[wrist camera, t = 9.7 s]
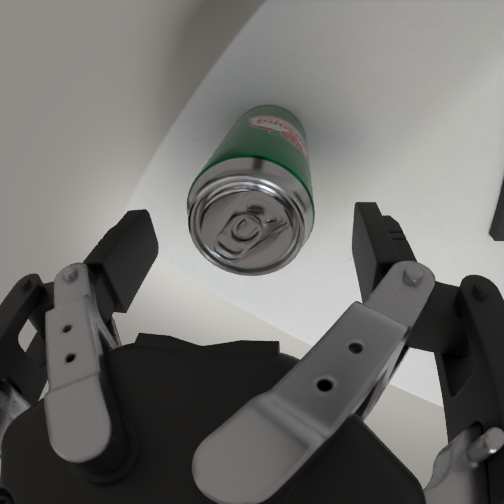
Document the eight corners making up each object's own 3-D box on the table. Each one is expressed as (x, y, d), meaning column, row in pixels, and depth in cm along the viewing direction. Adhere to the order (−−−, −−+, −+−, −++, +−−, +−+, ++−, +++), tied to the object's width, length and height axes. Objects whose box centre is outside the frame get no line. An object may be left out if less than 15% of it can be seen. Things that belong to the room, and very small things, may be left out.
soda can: (320, 136, 20) (345, 228, 11) (273, 184, 23) (255, 301, 13) (264, 89, 19) (231, 134, 9) (219, 142, 21) (155, 234, 12)
